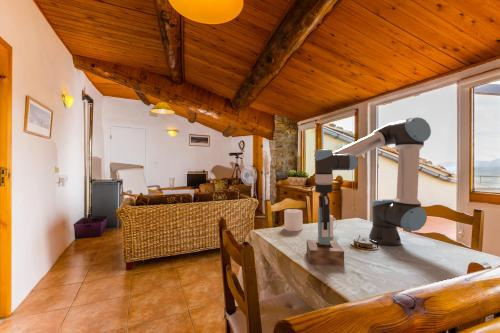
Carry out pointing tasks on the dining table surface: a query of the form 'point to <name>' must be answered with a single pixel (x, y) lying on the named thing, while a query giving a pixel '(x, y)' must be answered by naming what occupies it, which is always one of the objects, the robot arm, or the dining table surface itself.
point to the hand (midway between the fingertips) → (323, 234)
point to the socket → (325, 253)
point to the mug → (332, 226)
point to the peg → (321, 239)
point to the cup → (293, 220)
